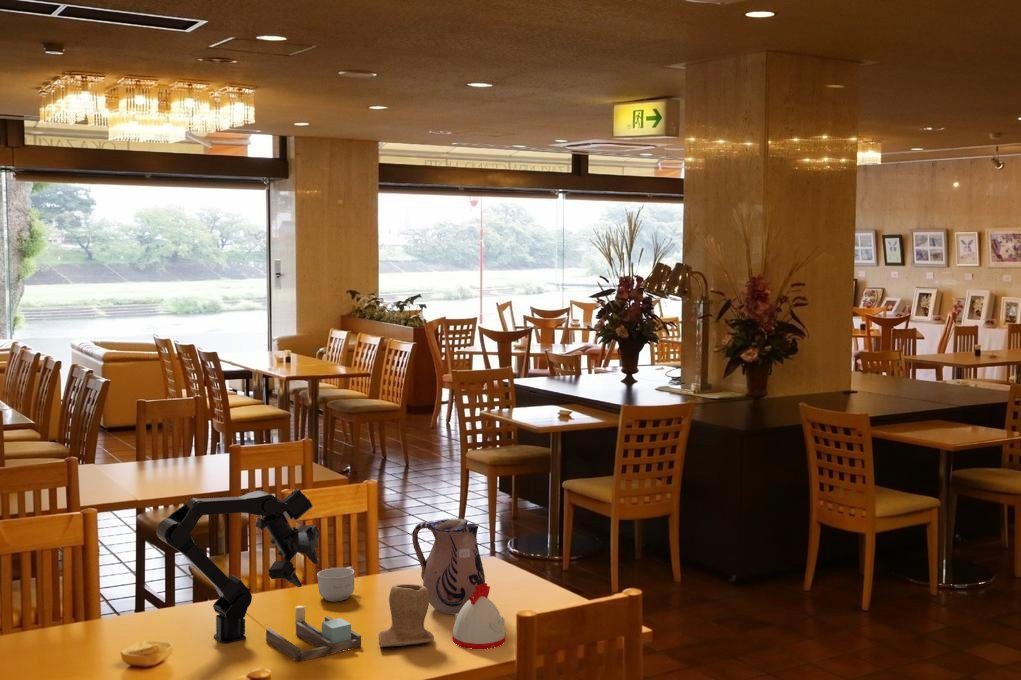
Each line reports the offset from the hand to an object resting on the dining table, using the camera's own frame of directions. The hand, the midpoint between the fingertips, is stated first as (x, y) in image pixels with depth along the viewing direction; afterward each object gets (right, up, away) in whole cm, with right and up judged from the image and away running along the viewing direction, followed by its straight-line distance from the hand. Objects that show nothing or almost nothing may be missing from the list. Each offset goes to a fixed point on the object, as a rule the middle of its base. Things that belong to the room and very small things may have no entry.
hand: (308, 574), depth 304 cm
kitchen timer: (+47, -15, -11) cm, 50 cm away
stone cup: (+27, -15, -13) cm, 34 cm away
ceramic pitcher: (+37, -13, +13) cm, 42 cm away
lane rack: (+4, -15, -16) cm, 22 cm away
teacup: (+5, -12, +23) cm, 26 cm away
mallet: (+4, -14, -9) cm, 17 cm away
